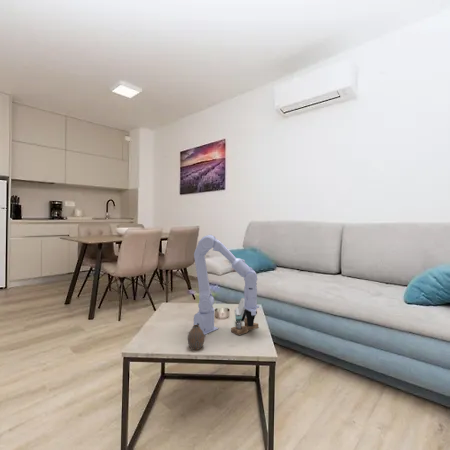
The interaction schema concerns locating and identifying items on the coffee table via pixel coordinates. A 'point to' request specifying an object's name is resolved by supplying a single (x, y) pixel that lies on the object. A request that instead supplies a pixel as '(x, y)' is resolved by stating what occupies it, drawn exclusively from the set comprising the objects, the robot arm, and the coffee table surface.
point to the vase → (196, 337)
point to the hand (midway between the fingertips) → (250, 325)
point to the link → (244, 328)
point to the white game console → (241, 309)
